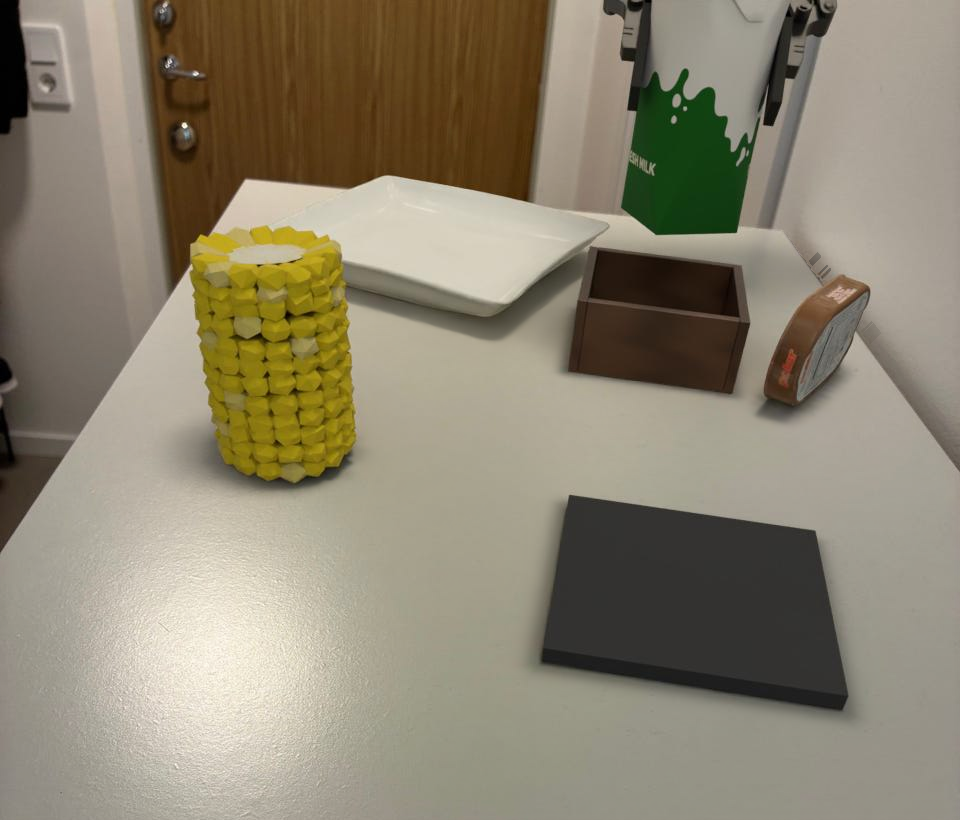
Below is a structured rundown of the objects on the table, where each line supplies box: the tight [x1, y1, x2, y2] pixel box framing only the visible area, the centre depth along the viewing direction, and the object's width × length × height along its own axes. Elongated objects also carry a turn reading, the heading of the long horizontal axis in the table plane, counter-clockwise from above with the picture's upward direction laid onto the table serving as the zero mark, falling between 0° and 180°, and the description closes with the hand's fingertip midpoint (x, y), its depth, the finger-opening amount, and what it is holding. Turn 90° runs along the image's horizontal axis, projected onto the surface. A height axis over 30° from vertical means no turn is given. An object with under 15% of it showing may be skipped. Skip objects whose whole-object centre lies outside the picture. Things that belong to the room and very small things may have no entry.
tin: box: [763, 273, 871, 407], centre depth 80 cm, size 15×3×8 cm, turn 145°
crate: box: [567, 245, 751, 394], centre depth 84 cm, size 14×14×6 cm
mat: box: [541, 494, 849, 710], centre depth 58 cm, size 16×16×1 cm
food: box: [188, 224, 357, 485], centre depth 63 cm, size 15×12×10 cm
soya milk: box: [620, 0, 791, 236], centre depth 73 cm, size 9×9×20 cm
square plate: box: [267, 174, 611, 318], centre depth 97 cm, size 27×27×4 cm
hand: (702, 106), depth 71 cm, fingers closed on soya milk, 9 cm apart
